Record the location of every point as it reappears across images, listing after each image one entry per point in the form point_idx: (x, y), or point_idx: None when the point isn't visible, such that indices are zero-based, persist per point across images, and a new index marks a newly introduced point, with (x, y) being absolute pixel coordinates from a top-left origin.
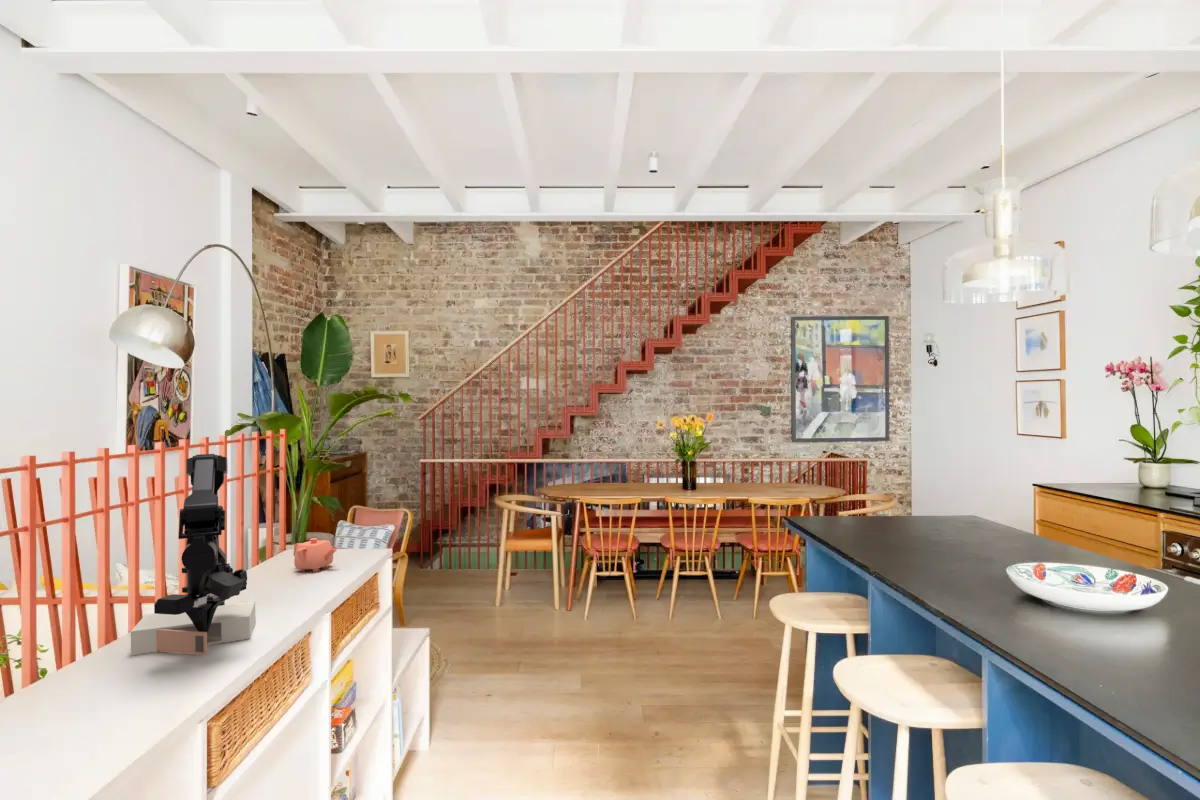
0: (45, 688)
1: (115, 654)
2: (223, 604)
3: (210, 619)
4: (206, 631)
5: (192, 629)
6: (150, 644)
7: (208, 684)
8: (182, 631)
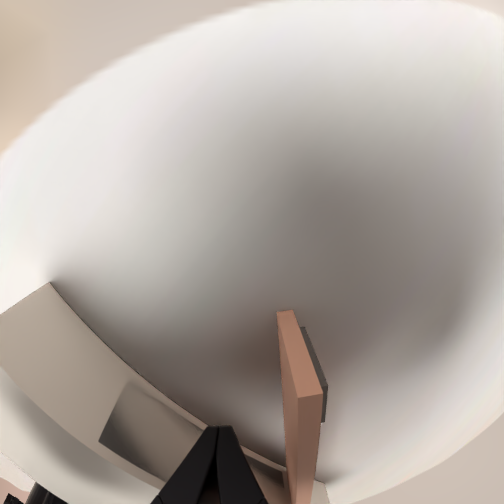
0: (477, 427)
1: None
2: None
3: (182, 490)
4: (215, 436)
5: None
6: None
7: (474, 51)
8: (311, 486)
